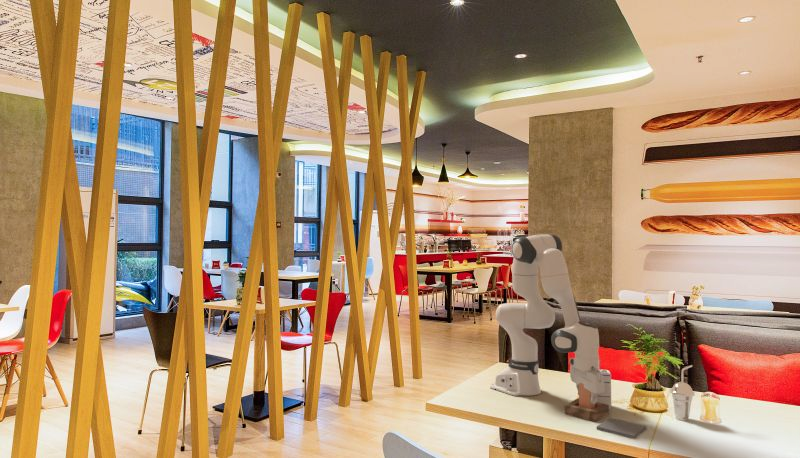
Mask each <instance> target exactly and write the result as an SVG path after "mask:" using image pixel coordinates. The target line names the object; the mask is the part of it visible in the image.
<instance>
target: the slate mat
mask: <svg viewBox="0 0 800 458" xmlns="http://www.w3.org/2000/svg"><path fill="white" fill-rule="evenodd" d="M596 430H599V431H602V432H606V433H610V434H614V435H619V436H622V437H625V438H630V439H633V440H634V439H635V438H636V437H638V436H639V435H640V434H642V433H643V432H644V431H645V430H647V425H644V424H640V423H635V422H633V421H632V422H631V421H627V420H623V419H618V418H614V417H609V418H608V419H606V420H604V421H603V422H601V423H599V424H598V425H597V426H596Z"/></svg>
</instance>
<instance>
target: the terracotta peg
mask: <svg viewBox="0 0 800 458" xmlns="http://www.w3.org/2000/svg"><path fill="white" fill-rule="evenodd" d="M591 396H592V395H591V392H590V391H588V390H587V389H585V388H584V384H583V383H579V395H578V398H579V406H580V407H584V408H588V409H594V408H595V404H592V403H590V398H591Z"/></svg>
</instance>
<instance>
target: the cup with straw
mask: <svg viewBox="0 0 800 458" xmlns="http://www.w3.org/2000/svg"><path fill="white" fill-rule="evenodd" d="M692 367H693V364H691V365H688V366H685V367H682V369H681V376H680V377H681V381H679V382H676V383H674V384H673V386H672V388H670V390H669V393H670V394H671V396H672V400H673V408H674V409H673V410H674V415H675V419H676V420H678V421H683V422H684V421H685V422H687V421H689V417H690V412H691V406H692V400H693V397H694V396H696V395H695V392H694V391H693V388H692V387H691V385H690V384H688V383H687V382H684V371H685V370H688V369H690V368H692Z"/></svg>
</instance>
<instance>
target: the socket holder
mask: <svg viewBox="0 0 800 458" xmlns="http://www.w3.org/2000/svg"><path fill="white" fill-rule="evenodd" d="M609 414H610V409H609V405H607V404H603V403H599V402H596V404H595V408H594V409H588V408H584V407H580V406H579V397H578V398H576V399H574V400H572V401H570V402H568V403H566V404H564V415H568V416H571V417H574V418H579V419H583V420H587V421H593V422H595V423H597V422H598V421H600V420H602V419H603V418H605V417H606V416H608V415H609Z"/></svg>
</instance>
